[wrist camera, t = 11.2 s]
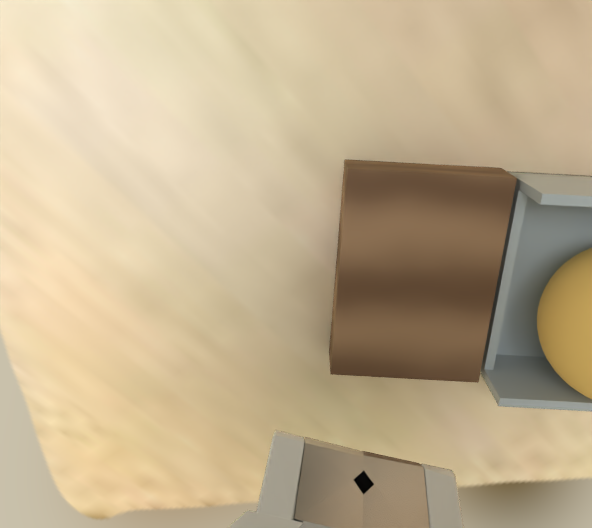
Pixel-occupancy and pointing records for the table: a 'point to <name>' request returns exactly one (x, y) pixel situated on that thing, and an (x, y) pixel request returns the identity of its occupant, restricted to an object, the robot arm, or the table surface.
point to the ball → (569, 322)
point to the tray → (534, 289)
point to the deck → (417, 268)
